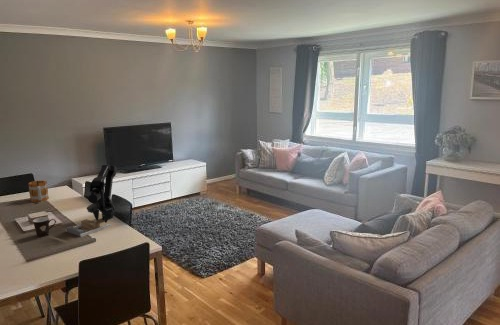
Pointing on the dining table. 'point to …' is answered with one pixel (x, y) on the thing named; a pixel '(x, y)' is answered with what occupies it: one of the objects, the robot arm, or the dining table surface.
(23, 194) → the dining table surface
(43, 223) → the coffee mug
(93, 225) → the walnut slider
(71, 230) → the rail plate
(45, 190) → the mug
